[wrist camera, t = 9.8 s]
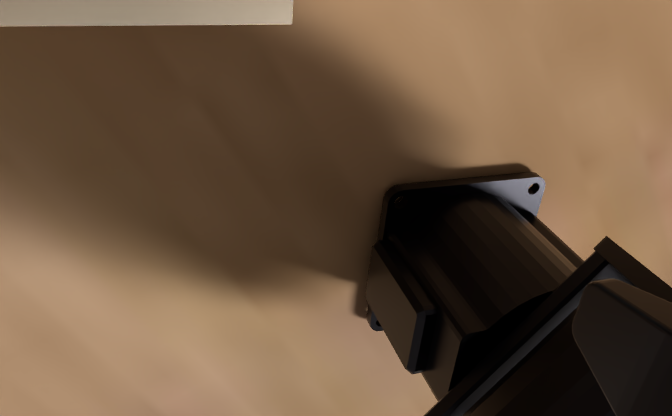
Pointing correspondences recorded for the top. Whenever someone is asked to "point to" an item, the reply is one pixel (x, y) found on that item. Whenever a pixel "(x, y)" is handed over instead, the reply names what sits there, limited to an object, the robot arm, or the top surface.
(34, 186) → the top surface
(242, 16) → the beige patterned block
